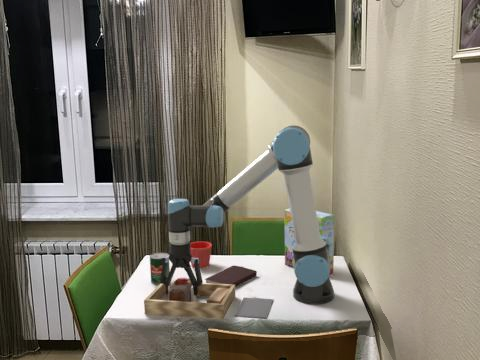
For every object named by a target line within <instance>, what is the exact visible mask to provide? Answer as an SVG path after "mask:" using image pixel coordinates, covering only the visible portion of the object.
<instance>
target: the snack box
mask: <svg viewBox="0 0 480 360" xmlns="http://www.w3.org/2000/svg"><path fill="white" fill-rule="evenodd" d="M283 212H284V213H283V214H284V216H283V217H284V225H283V226H284V265H285V266H287V267H291V268H292V269H294V267H295V261H294V255H293V249H292V247H293V245H294V244H295V242H296V241H295V235H294V230H293V224H292V218H291V212H290V207H288V208H286V209H284V210H283ZM316 214H317V220H318V226H319V232H320V236H324V237H327V238H328V239H329V242H330V274H329V275H331V274H333V273H334V266H335V265H334V255H335V254H334V252H335V250H334V245H335V242H334V241H335V240H334V239H335V233H334V232H335V214H332V213H327V212H323V211H318V210H316Z"/></svg>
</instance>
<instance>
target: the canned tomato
mask: <svg viewBox="0 0 480 360" xmlns="http://www.w3.org/2000/svg"><path fill="white" fill-rule="evenodd" d="M169 255H170V253H167V252H155V253H151V254H150V255H149V266H150V267H149V268H150V269H149V270H150V283H151V284H152V285H159V284H160V280H161V272H162V260H161V259H162V258H163V257H164V256H166V257H167V256H169ZM170 267H171V266H170V260H169V261H168V266H167V274H166V280H167V278H168V275H169V273H170V270H171V268H170Z"/></svg>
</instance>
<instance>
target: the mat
mask: <svg viewBox="0 0 480 360" xmlns="http://www.w3.org/2000/svg"><path fill="white" fill-rule="evenodd" d="M273 301H274V298H273V299H272V298H260V297H259V298H257V297H243V298H242V300H241V302H240V304H239V306H238V308H237V309H236V312H235V313H234V317H236V318H237V317H240V318H251V319H252V318H253V319H265V318H266V319H267V318H268V316H269V313H270V310H271V307H272V304H273ZM268 312H269V313H268Z"/></svg>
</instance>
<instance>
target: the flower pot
mask: <svg viewBox="0 0 480 360" xmlns="http://www.w3.org/2000/svg"><path fill="white" fill-rule="evenodd" d="M190 246H191V256H192V257H194V258H197V257H199V258H200V260H199V266H200V269H205V268H208V267H209V266H210V261H211V254H212V246H213V245H212V243H211V242H209V241H194V242H190ZM190 266H191V268H194V264H193V262H192V261H190Z"/></svg>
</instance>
